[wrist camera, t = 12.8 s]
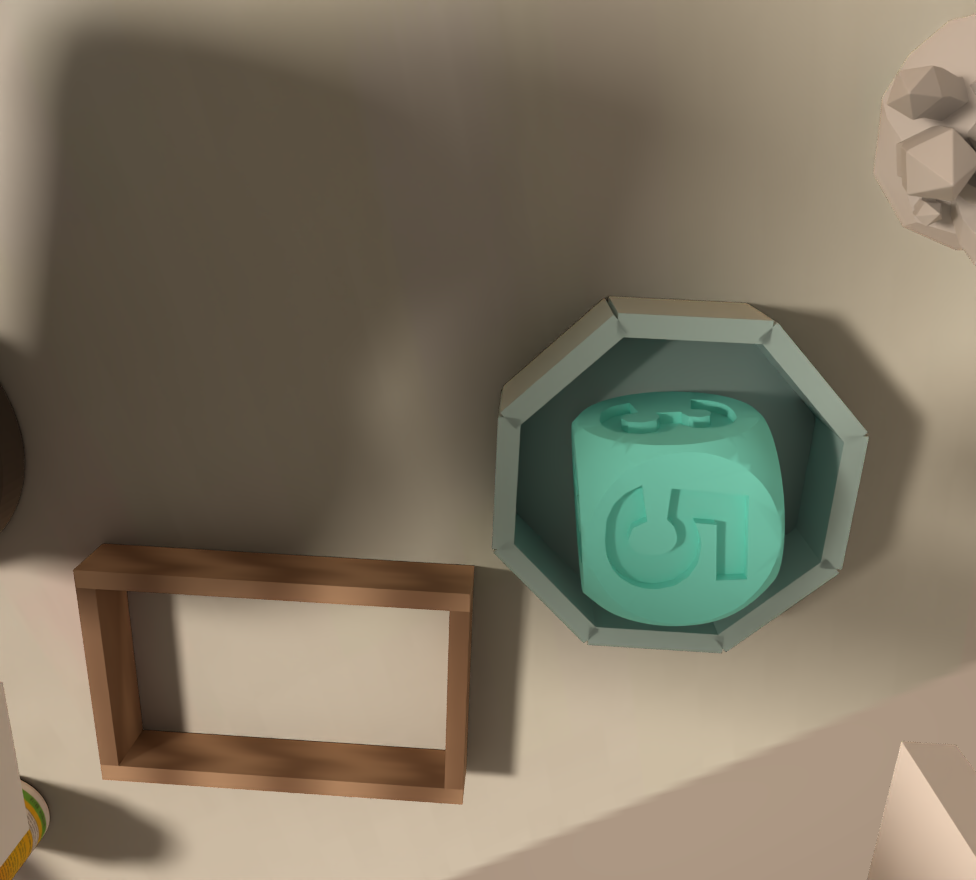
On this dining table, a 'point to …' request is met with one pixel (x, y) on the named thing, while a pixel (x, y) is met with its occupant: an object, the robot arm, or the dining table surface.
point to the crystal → (933, 138)
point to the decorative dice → (676, 506)
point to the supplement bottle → (37, 828)
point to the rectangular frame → (267, 759)
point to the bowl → (665, 368)
